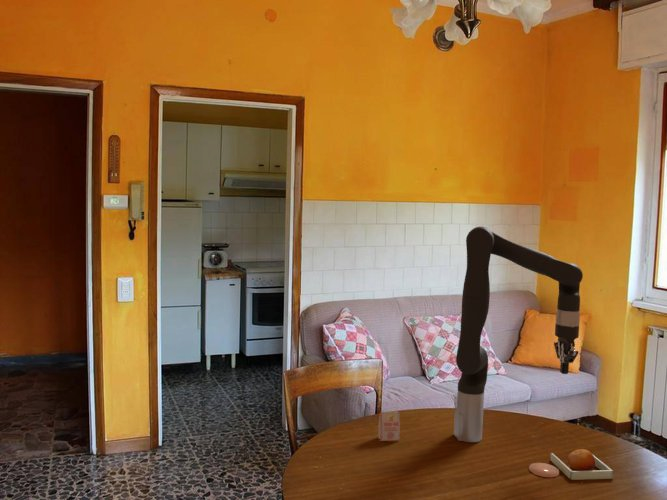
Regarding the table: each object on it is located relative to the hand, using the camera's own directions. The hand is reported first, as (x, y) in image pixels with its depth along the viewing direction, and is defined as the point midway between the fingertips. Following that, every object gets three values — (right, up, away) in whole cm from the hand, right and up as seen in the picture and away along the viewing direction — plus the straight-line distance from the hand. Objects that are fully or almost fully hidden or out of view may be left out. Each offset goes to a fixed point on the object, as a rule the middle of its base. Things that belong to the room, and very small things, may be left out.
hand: (564, 373), depth 209 cm
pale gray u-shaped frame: (+1, -28, -12) cm, 31 cm away
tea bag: (-59, -25, +8) cm, 64 cm away
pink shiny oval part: (-12, -28, -14) cm, 33 cm away
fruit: (0, -29, -13) cm, 31 cm away
